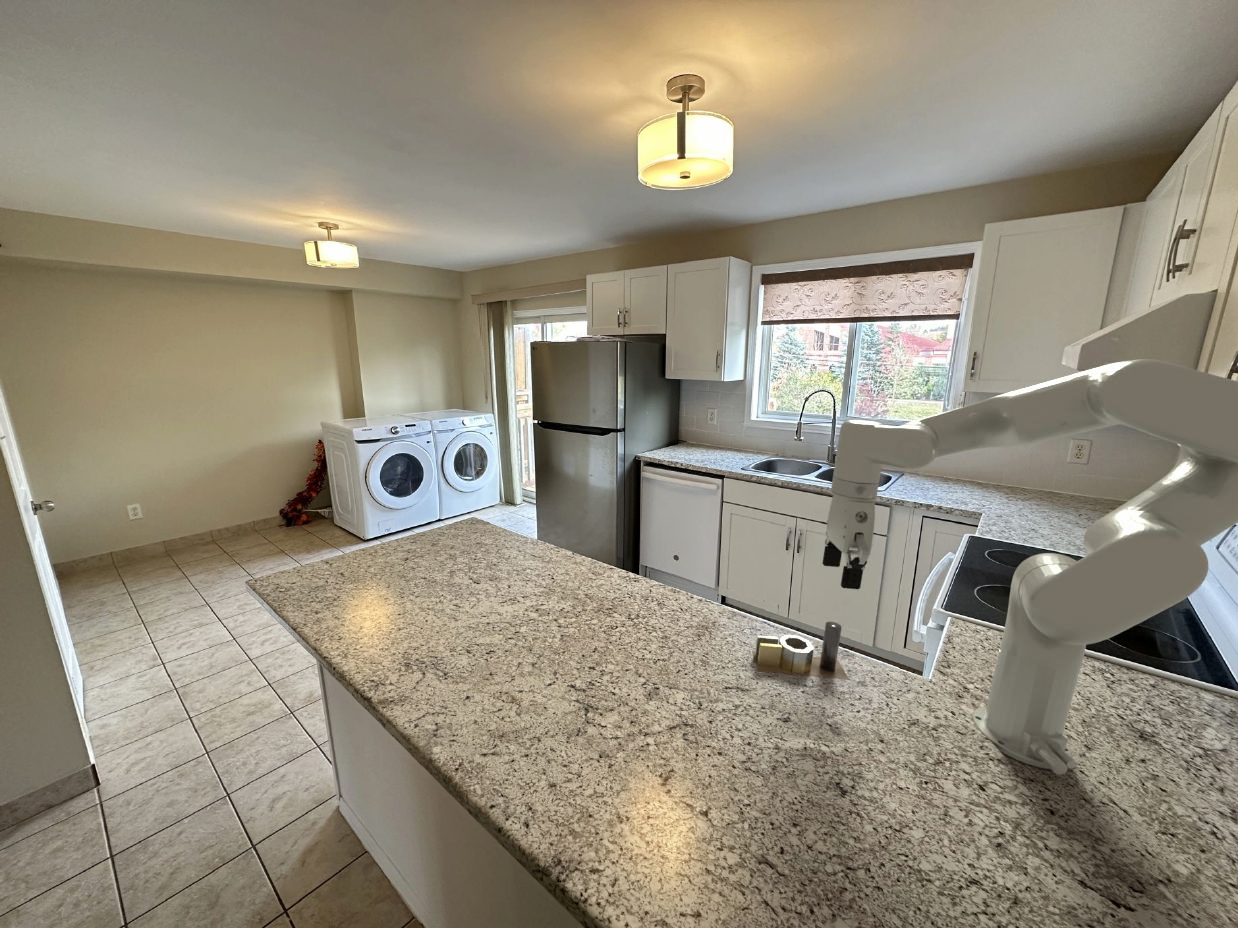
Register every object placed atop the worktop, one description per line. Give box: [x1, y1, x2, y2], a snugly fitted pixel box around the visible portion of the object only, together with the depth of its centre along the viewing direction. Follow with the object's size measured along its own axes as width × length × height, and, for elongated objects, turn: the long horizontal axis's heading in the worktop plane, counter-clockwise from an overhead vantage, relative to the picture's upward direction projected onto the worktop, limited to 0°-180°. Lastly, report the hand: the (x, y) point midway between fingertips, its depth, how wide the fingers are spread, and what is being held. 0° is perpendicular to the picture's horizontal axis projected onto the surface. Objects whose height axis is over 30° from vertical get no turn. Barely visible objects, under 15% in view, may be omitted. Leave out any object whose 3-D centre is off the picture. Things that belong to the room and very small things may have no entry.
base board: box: [751, 650, 850, 680], centre depth 94 cm, size 7×17×1 cm, turn 85°
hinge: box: [754, 634, 815, 674], centre depth 94 cm, size 6×10×4 cm, turn 85°
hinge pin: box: [820, 621, 843, 672], centre depth 93 cm, size 3×3×9 cm
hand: (840, 576), depth 90 cm, fingers open, 9 cm apart
